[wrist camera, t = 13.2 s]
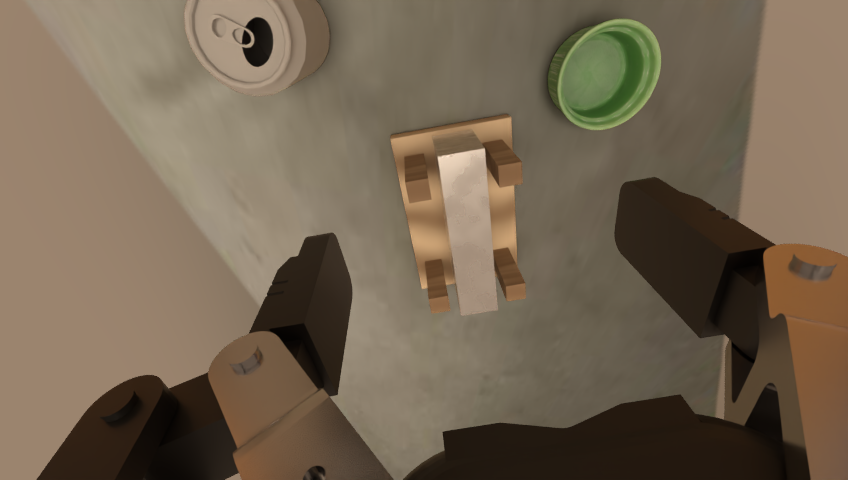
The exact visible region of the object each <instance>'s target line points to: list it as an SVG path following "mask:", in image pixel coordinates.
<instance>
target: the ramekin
mask: <svg viewBox="0 0 848 480" xmlns="http://www.w3.org/2000/svg"><path fill="white" fill-rule="evenodd" d="M660 68H661V53H660V48H659V44H658V41H657V39H656V37H655V36H654V34H653V33H652V31H651V30H650V29H649V28H648V27H646V26H645V25H643V24H642V23H640V22H638V21H635V20H631V19H613V20H609V21H605V22H602V23H600V24H598V25H594V26H590V27H586V28H584V29H582V30H580V31H578V32H576V33H574V34H573V35H572V36H570V37H569V38H568V39H567V40H566V41H565V42H564V43H563V44H562V45H561V46H560V47H559V49H558V50H557V52H556V53H555V55H554V57H553V59H552V62H551V64H550V68H549V73H548V89H549V93H550V96H551V98H552V100H553V102H554V104H555V105H556V106H557V107H558V108H559V109H560V110H561V111H562V112H563V114H564V115H565V116H566V117H567V119H568V120H570V121H571V122H572V123H574V124H575V125H577V126H579V127H582V128H585V129H589V130H604V129H609V128H612V127H615V126H617V125H620V124H622V123H623V122H625V121H627V120H628V119H630V118H631V117H632V116H634V115H635V114H636V113H637V112H638V111H639V110H640V109H641V108H642V107H643V106H644V104H645V103H646V102H647V100H648V99H649V97H650V96H651V94H652V92H653V90H654V88H655V86H656V83H657V81H658V77H659V74H660Z"/></svg>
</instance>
